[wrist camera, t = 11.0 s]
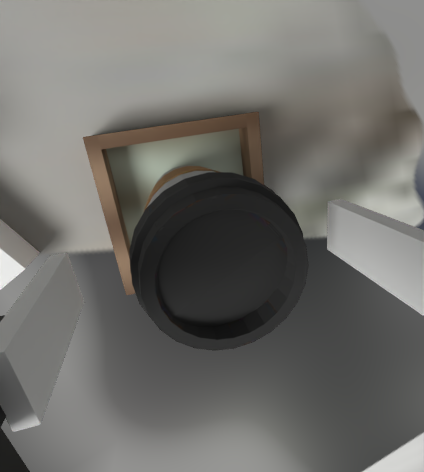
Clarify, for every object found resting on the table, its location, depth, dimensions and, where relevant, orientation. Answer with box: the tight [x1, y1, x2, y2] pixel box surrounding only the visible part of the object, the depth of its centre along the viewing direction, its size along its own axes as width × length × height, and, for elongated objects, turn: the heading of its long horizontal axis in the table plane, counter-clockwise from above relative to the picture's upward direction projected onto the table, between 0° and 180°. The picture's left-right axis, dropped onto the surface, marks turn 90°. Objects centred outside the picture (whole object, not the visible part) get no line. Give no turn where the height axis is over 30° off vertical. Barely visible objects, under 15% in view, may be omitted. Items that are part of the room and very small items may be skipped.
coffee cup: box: [129, 165, 308, 350], centre depth 20 cm, size 8×8×15 cm
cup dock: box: [83, 112, 264, 295], centre depth 26 cm, size 13×13×3 cm
